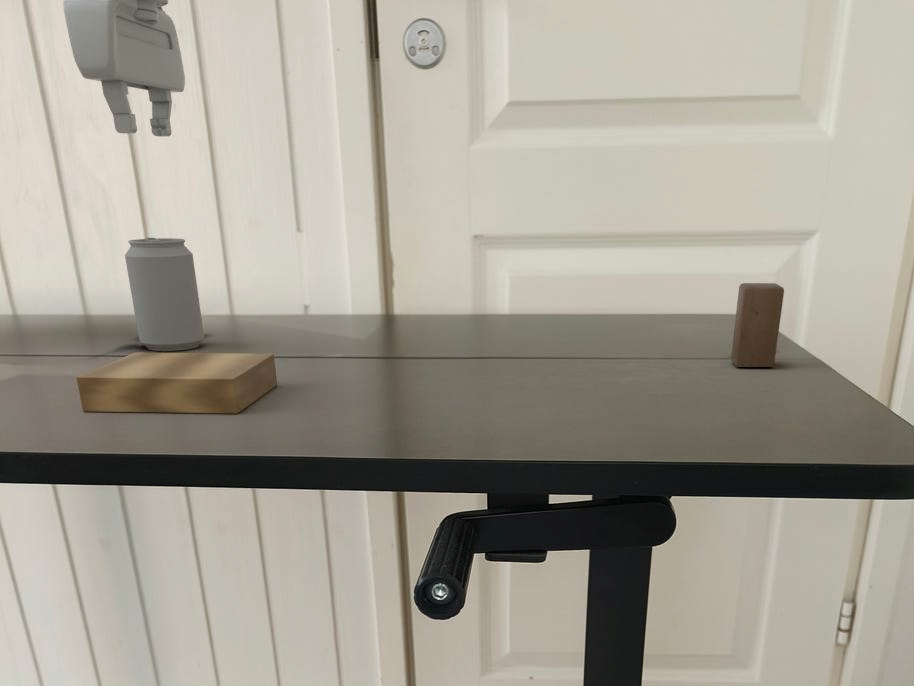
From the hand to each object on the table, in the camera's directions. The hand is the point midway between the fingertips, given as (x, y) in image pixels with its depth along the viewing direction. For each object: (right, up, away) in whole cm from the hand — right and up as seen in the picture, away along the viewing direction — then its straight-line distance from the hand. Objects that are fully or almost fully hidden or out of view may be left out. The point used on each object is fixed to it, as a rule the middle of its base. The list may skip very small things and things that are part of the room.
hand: (145, 135), depth 101 cm
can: (0, -21, +9) cm, 23 cm away
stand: (+10, -33, -16) cm, 38 cm away
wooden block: (+66, -27, -4) cm, 71 cm away
